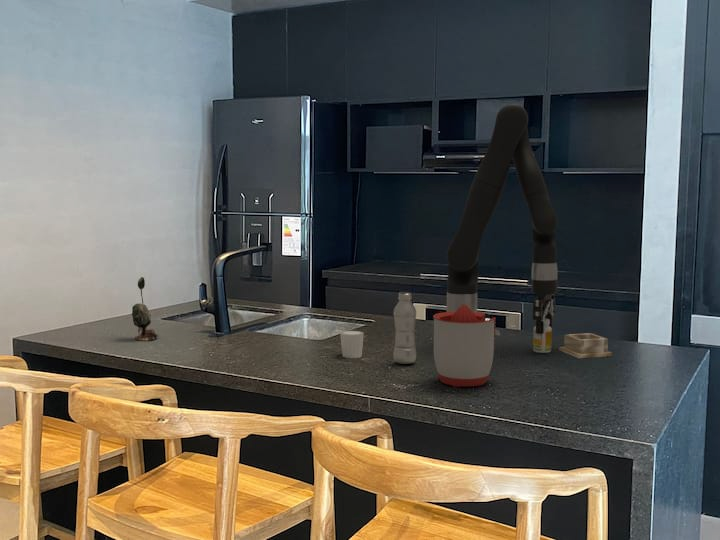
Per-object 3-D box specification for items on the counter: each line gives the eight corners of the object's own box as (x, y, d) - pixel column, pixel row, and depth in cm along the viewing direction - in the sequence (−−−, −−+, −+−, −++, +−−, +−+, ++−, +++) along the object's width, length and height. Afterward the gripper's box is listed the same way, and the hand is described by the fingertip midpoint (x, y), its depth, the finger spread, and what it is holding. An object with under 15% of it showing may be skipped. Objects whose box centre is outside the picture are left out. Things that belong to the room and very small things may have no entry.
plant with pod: (124, 341, 245) (122, 279, 242) (144, 335, 255) (142, 275, 253) (146, 343, 242) (144, 280, 240) (165, 336, 253) (164, 276, 251)
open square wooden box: (578, 358, 221) (579, 341, 220) (559, 350, 231) (559, 334, 231) (612, 356, 223) (612, 339, 223) (591, 348, 234) (592, 332, 233)
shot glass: (367, 354, 226) (367, 331, 225) (357, 359, 219) (357, 335, 219) (346, 352, 228) (346, 329, 228) (336, 357, 222) (336, 333, 221)
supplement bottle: (549, 349, 233) (550, 317, 232) (552, 353, 227) (553, 321, 226) (531, 349, 233) (532, 317, 232) (534, 352, 228) (534, 320, 227)
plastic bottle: (418, 361, 216) (419, 291, 214) (412, 367, 210) (413, 295, 208) (397, 360, 219) (397, 290, 216) (390, 365, 212) (390, 294, 210)
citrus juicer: (511, 387, 189) (513, 307, 187) (446, 392, 185) (447, 310, 182) (483, 372, 204) (485, 298, 202) (423, 377, 199) (423, 301, 197)
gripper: (549, 281, 220) (549, 336, 222) (563, 275, 232) (563, 328, 234) (524, 279, 224) (524, 334, 225) (539, 274, 236) (539, 326, 238)
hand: (544, 331), depth 230 cm, fingers open, 8 cm apart
